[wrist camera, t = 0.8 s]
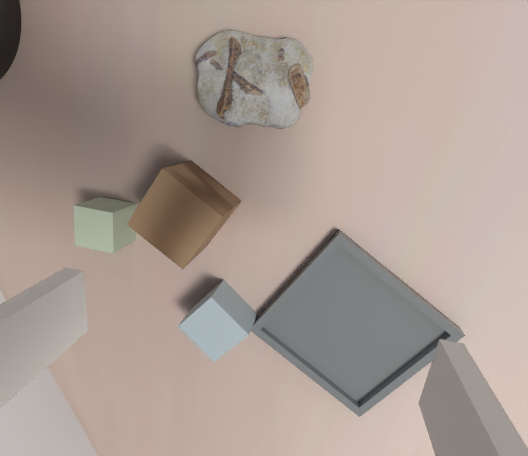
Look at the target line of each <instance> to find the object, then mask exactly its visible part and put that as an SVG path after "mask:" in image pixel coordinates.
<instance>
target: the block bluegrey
mask: <svg viewBox="0 0 528 456" xmlns="http://www.w3.org/2000/svg"><path fill="white" fill-rule="evenodd" d="M256 316H257V313H256V312H255V311H254V310H253V309H252V308H251V307H250V306H249V305H248V304H247V303H246V302H245V301H244V300H243V299H242V297H241V296H240V295H239V294H238V293H237V292H236V291H235V290H234V289H233V288H232V287H231V286H230V285H229V284H228V283H227V282H226V281H225V280H223V281H221V282H220V283H219V284H218V285H217V286H216V287H215V288H214V289H212V290H211V291H210V292H209V293H208V294H207V295H206V296H205V297H203V298H202V299H201V300H200V301H199V302H198V303H197V304H196V305H194V306H193V307H192V309H191V310H190V311H189V313H188V314H187V315H186V317H185V318H184V319H183V320H182V322H181V323H180V324H179V326H178V327H179V328H180V329H181V330H182V331H183V332H184V333H185V334H186V335H187V336H188V337H189V338H190V339H191V340H192V341H193V342H194V343H195V344H196V345H197V346H198V347H199V348H200V349H201V350H202V351H203V352H204V353H205V354H206V355H207V356H208V357H209V358H210V359H211V360H212V361H214V362H215V361H216V360H217V359H218V358H220V357H221V356H222V355H224V354H225V353H226V352H227V351H229V350H230V349H231V348H233V347H234V346H235V345H236V344H238V343H239V342H240V341H242V340H243V339H244V338H245V337H247V336H248V335H249V333H250V331H251V328H252V326H253V323H254V321H255V318H256Z"/></svg>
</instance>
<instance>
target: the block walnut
mask: <svg viewBox="0 0 528 456" xmlns="http://www.w3.org/2000/svg"><path fill="white" fill-rule="evenodd" d="M240 202H241V200H240V199H238V198H237V197H236V196H235V195H234V194H232V193H231V192H230V191H229V190H227V189H226V188H225V187H224V186H222V185H221V184H220V183H219V182H217V181H216V180H215V179H214V178H212V177H211V176H210V175H209V174H208V173H206V172H205V171H204V170H203V169H201V168H200V167H199V166H198V165H196V164H195V163H194V162H193V161H189V162H185V163H181V164H177V165H173V166H169V167H165V168H162V169H161V171H160V172H159V174H158V175H157V177H156V179H155V180H154V182H153V183H152V185H151V187H150V188H149V190H148V191H147V193H146V194H145V196H144V198H143V199H142V201H141V202H140V204H139V205H138V207H137V209H136V210H135V212H134V213H133V215H132V217H131V218H130V220H129V221H128V223H127V225H128V226H129V227H130V228H132V229H133V230H134V231H135V232H137V233H138V234H139V235H140V236H142V237H143V238H144V239H145V240H147V241H148V242H149V243H151V244H152V245H153V246H154V247H156V248H157V249H158V250H159V251H161V252H162V253H163V254H164V255H166V256H167V257H168V258H169V259H171V260H172V261H173V262H174V263H176V264H177V265H178V266H179V267H181V268H182V269H183V268H184V267H185V266H187V265H188V264H189V263H190V262H191V261H192V260H193V259H194V258H195V257H196V256H197V255H198V254H199V253H200V252H201V251H202V250H203V249H204V248H205V247H206V246H207V245H208V244H209V243H210V241H211V240H212V239H213V237H214V236H215V235H216V233H217V232H218V231H219V230H220V228H221V227H222V226H223V224H224V223H225V222H226V220H227V219H228V218H229V217H230V215H231V214H232V213H233V211H234V210H235V209H236V207H237V206H238V205H239V204H240Z"/></svg>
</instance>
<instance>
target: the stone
mask: <svg viewBox="0 0 528 456" xmlns="http://www.w3.org/2000/svg"><path fill="white" fill-rule="evenodd" d="M195 63H196V65H197V69H198V72H199V76H198V82H197V92H198V100H199V102H200V104H201V105H202V107H203V109H204V110H205V111H206V112H207V113H208V114H209V115H211V116H212V117H214V118H216V119H217V120H219V121H220V122H222V123H224V124H226V125H229V126H236V127H241V126H242V125H245V124H256V125H260V126H268V127H275V128H277V129H283V128H286V127H289V126H292V125H293V124H295V123H296V121H297V119H298V118H299V116H300V109H301V108H302V107H303V106H304V105H306V104H307V103H308V101H309V99H310V92H309V80H310V77H311V74H312V68H313V59H312V57H311V55H310V54H309V52H308V50H307V49H306V48H305V47H304V46H303V44H302V43H301V42H300V41H298V40H296V39H292V38H286V37H284V38H282V39H271V38H267V37H258V36H254V35H250V34H246V33H243V32H238V31H232V30H228V31H223V32H220V33H218V34H216V35H214V36H213V37H211V38H210V39H209V40H208V41H207V42H205V43H204V44H203V45H202V46H201V48H200V49H199V51H198V52H197V54H196V61H195Z"/></svg>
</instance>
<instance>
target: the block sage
mask: <svg viewBox="0 0 528 456" xmlns="http://www.w3.org/2000/svg"><path fill="white" fill-rule="evenodd" d="M73 210H74V232H75V246H80V247H85V248H89V249H94V250H99V251H104V252H109V253H115V252H117V251H118V250H120V249H122V248H123V247H125V246H127V245H129V244H130V243H132V242H134V241H135V240H136V232H135V231H134V230H133V229H132V228H130V227H129V226H128V225H127V223H128V221H129V220H130V218H131V217H132V215H133V213H134V212H135V210H136V203H131V202H126V201H120V200H115V199H109V198H104V197H99V198H95V199H92V200H89V201H86V202H82V203H79V204H76V205H73Z"/></svg>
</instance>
